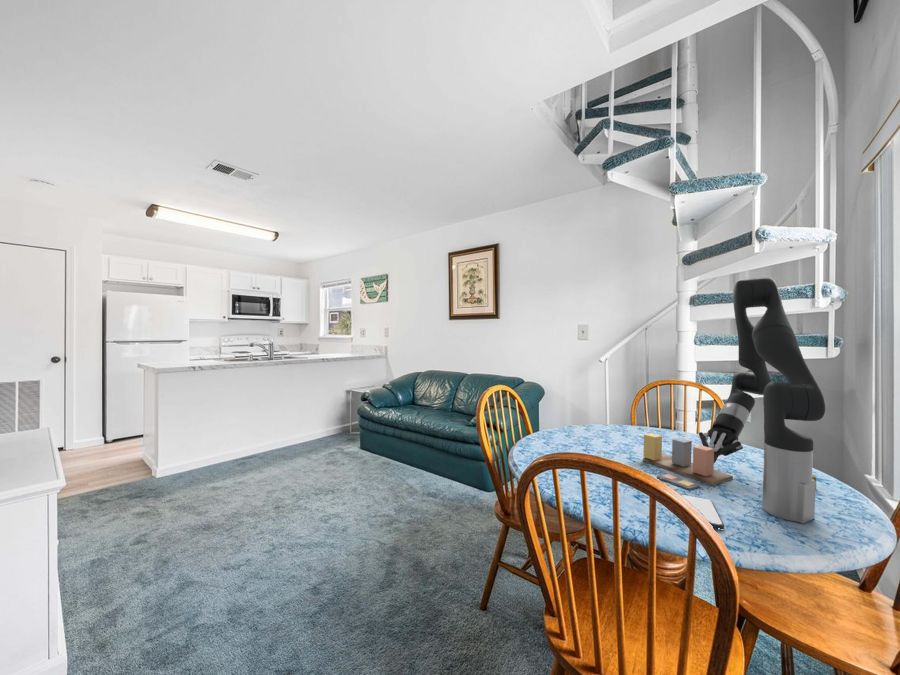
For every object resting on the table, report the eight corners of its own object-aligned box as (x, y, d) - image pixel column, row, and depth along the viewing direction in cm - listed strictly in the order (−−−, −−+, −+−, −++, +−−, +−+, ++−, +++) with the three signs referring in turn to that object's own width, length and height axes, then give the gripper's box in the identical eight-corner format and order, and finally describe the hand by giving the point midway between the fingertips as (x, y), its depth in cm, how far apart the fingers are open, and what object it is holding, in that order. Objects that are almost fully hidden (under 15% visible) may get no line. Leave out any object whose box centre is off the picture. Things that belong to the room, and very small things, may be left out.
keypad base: (732, 479, 118) (732, 475, 118) (712, 485, 113) (712, 482, 113) (662, 456, 138) (662, 453, 138) (643, 460, 134) (643, 457, 134)
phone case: (673, 498, 106) (681, 524, 91) (674, 492, 106) (681, 517, 91) (712, 505, 102) (725, 533, 88) (712, 499, 102) (725, 526, 88)
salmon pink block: (713, 474, 118) (714, 448, 118) (705, 476, 116) (706, 450, 116) (700, 469, 122) (700, 445, 122) (692, 471, 120) (693, 446, 120)
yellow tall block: (661, 458, 132) (662, 435, 132) (654, 460, 130) (654, 437, 130) (650, 455, 135) (651, 433, 135) (643, 456, 134) (643, 434, 133)
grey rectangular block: (691, 464, 126) (691, 440, 126) (683, 466, 124) (684, 442, 124) (679, 460, 130) (679, 437, 130) (671, 462, 128) (672, 439, 128)
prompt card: (699, 487, 112) (699, 484, 112) (689, 490, 110) (689, 487, 109) (667, 475, 121) (667, 472, 121) (657, 477, 118) (657, 475, 118)
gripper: (705, 408, 130) (682, 449, 125) (750, 417, 118) (726, 462, 113) (714, 422, 132) (691, 462, 127) (758, 431, 121) (736, 476, 116)
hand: (708, 462), depth 120 cm, fingers closed
